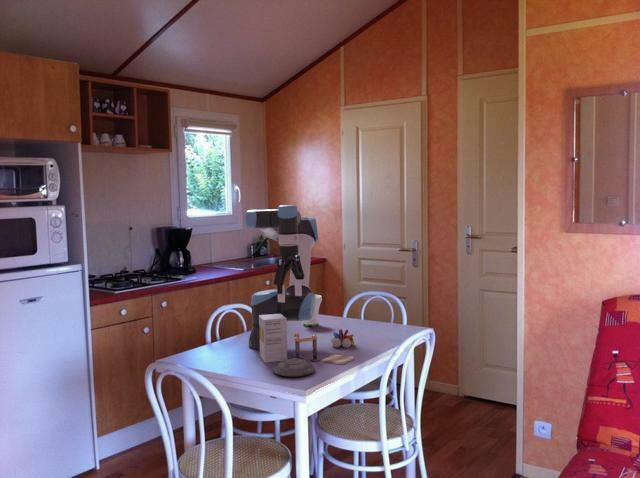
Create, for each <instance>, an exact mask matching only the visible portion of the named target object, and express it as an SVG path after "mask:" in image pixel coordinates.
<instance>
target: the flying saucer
mask: <svg viewBox="0 0 640 478" xmlns="http://www.w3.org/2000/svg"><path fill="white" fill-rule="evenodd" d="M315 370H316V368H315V366H314V364H312V362H310V361H308V360H305V359H303V358H301V359H298V358H293V357H292V358H289V359H288V358H287V360H284V361H279V363H277V365H276V366H275V367H274V368H273V372H274V373H275V374H277V375H280V376H282V377H289V378H290V377H291V378H292V377H293V378H294V377H303V376H307V375H310V374H312V373H313V372H315Z"/></svg>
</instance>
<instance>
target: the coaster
mask: <svg viewBox="0 0 640 478" xmlns="http://www.w3.org/2000/svg"><path fill="white" fill-rule="evenodd" d="M353 360H355V356H350V355H344V354H343V355H342V354H335V353H333V354H331V355H329V356H327V357H325V358H322V360H321V362H322V363H328V364H336V365H341V366H343V365H345V364H347V363H349V362H352V361H353Z"/></svg>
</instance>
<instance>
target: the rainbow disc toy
mask: <svg viewBox="0 0 640 478" xmlns="http://www.w3.org/2000/svg"><path fill="white" fill-rule="evenodd" d="M348 333H349V329H345V331H344V333H343V330H342V329H341V328H340V329H338V332H335V331H334V332H333V333H332V334H333V336H334V337H332V338H331V341H330V342H331V344H332V346H333V347H334V348H340V347H343V348H345V349H348V348H350V347H351V346H352V345H354V344H355V341H354V338H353V337H354V334H353V333H352V334H351V333H350V334H349V335H348Z"/></svg>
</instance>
